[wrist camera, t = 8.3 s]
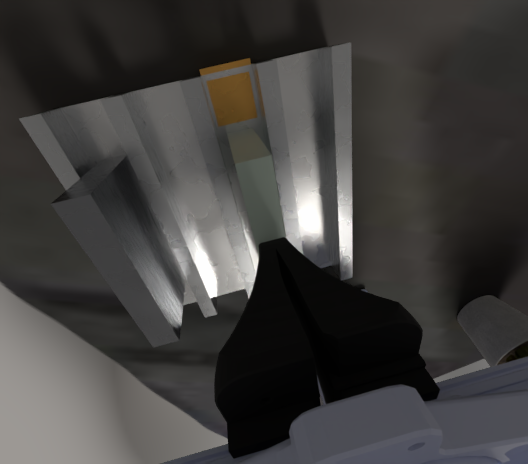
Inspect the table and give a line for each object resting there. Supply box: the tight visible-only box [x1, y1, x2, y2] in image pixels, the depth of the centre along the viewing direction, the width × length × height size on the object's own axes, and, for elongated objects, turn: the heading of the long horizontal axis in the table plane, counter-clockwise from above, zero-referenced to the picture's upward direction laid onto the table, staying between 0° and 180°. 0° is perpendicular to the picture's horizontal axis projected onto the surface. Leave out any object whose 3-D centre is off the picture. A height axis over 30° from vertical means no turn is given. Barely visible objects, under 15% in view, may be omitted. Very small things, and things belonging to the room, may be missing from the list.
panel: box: [227, 128, 286, 256], centre depth 16 cm, size 10×2×6 cm, turn 11°
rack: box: [19, 42, 353, 347], centre depth 17 cm, size 16×16×7 cm
